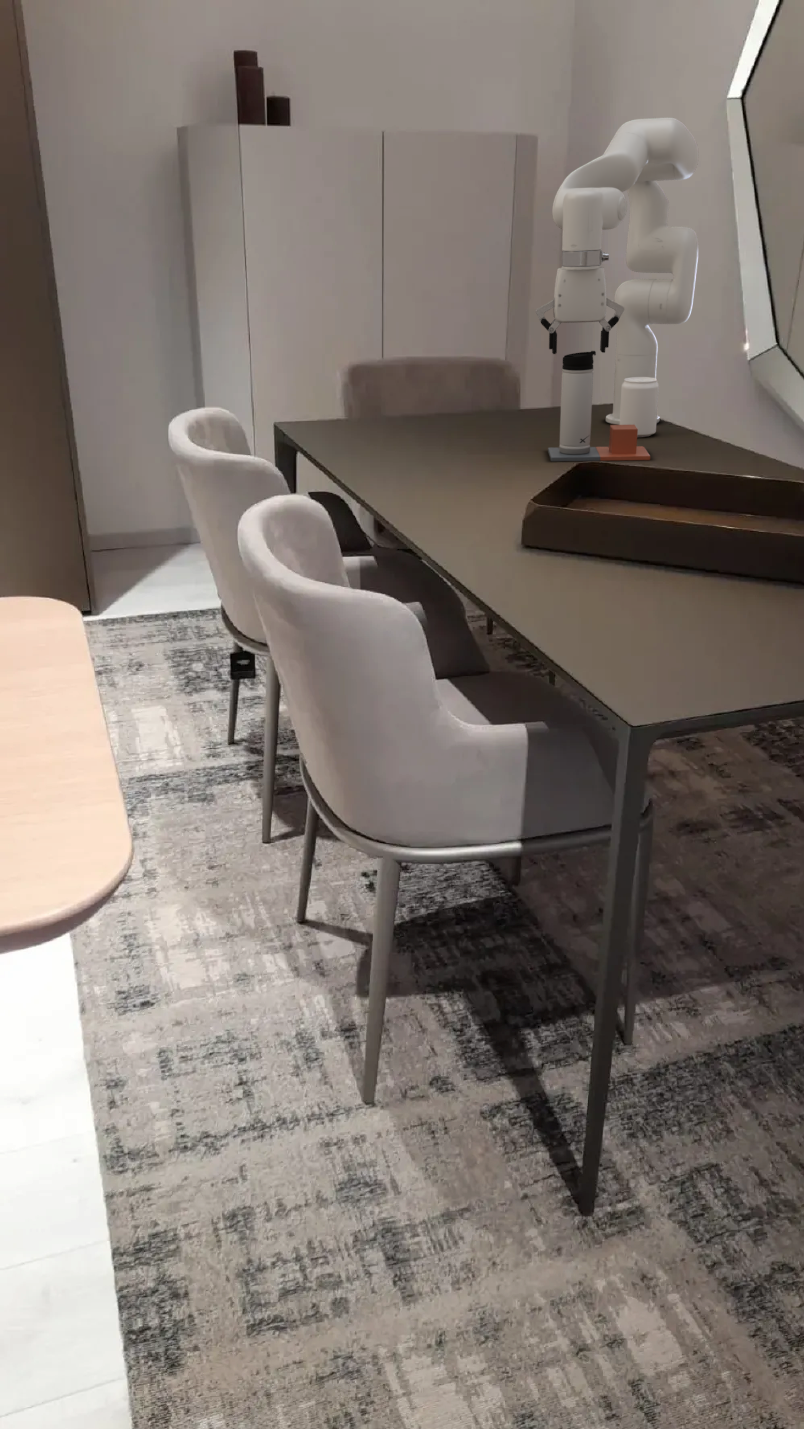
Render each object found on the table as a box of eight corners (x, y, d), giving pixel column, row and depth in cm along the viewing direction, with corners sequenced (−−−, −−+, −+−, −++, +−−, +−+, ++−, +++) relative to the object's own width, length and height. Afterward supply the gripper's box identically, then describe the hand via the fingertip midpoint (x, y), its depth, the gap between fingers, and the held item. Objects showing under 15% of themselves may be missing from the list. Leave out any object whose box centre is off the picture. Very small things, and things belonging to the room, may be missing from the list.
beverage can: (644, 430, 252) (647, 375, 247) (662, 436, 245) (666, 380, 240) (612, 432, 250) (615, 378, 245) (629, 439, 243) (633, 383, 238)
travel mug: (590, 455, 225) (595, 353, 217) (558, 454, 226) (561, 353, 218) (592, 449, 231) (596, 349, 222) (560, 448, 232) (563, 349, 224)
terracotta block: (608, 449, 230) (610, 425, 228) (633, 448, 230) (634, 424, 228) (611, 454, 226) (612, 429, 224) (636, 453, 225) (637, 429, 223)
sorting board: (547, 451, 234) (548, 447, 233) (643, 450, 232) (643, 446, 232) (550, 461, 225) (551, 457, 224) (650, 460, 223) (650, 456, 223)
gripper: (624, 257, 216) (619, 348, 223) (535, 260, 217) (534, 351, 225) (628, 260, 209) (624, 354, 217) (537, 263, 210) (536, 356, 218)
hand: (578, 352), depth 221 cm, fingers open, 9 cm apart
